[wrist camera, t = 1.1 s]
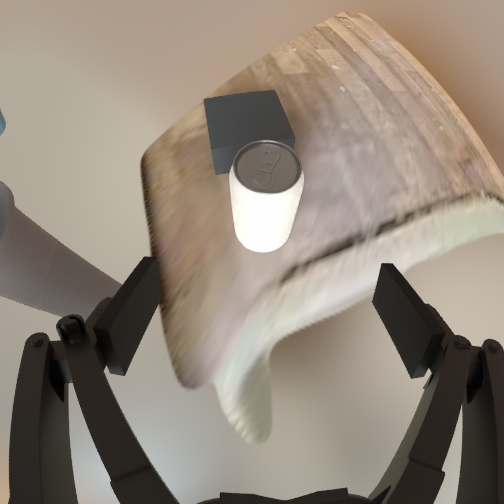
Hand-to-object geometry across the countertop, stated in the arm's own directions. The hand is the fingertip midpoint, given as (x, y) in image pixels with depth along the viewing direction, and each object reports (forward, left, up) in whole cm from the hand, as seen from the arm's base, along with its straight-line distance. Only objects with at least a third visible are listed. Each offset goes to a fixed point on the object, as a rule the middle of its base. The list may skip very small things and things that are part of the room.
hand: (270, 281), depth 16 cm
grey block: (-5, +23, -15) cm, 28 cm away
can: (-1, +10, -15) cm, 18 cm away
